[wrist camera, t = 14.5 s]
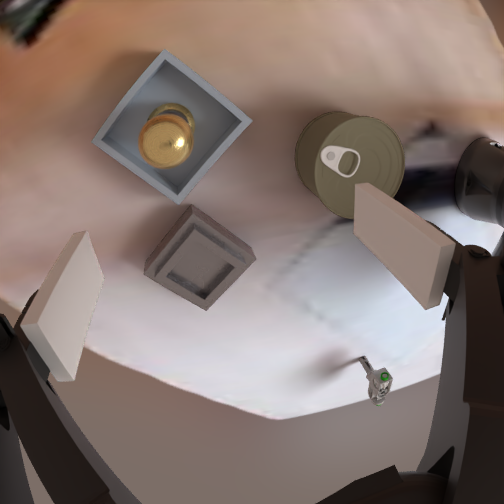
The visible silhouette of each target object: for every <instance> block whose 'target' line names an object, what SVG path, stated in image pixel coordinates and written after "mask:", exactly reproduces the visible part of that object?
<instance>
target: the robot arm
mask: <svg viewBox="0 0 504 504" xmlns="http://www.w3.org/2000/svg"><path fill="white" fill-rule="evenodd" d="M455 198H456V202H457V205H458V207H459V209H460V210H461V211H462V212H463V213H464V214H466V215H467V216H469V217H470V218H472V219H474V220H479V221H484V222H489V223H494V224H499V225H500V226H502V227H503V228H504V147H503V146H502V145H501V144H500V143H498V142H496V141H494V140H491V139H488V138H480V139H478V140H476V141H474V142H473V143H472V144H471V145H470V146H469V147H468V148H467V150H466V151H465V153H464V154H463V156H462V158H461V161H460V163H459V166H458V169H457V173H456V179H455ZM353 234H354V235H355V236H356V237H357V238H358V239H359V240H360V241H361V242H362V243H363V244H364V245H365V246H366V247H367V248H368V249H369V250H370V251H371V252H372V253H373V254H374V255H375V256H376V257H377V258H378V259H379V260H380V261H381V262H382V263H383V264H384V265H385V266H386V267H387V268H388V270H389V271H390V272H391V273H392V274H393V275H394V276H395V277H396V278H397V279H398V280H399V281H400V282H401V283H402V285H403V286H404V287H405V288H406V289H407V290H408V291H409V292H410V293H411V294H412V296H413V297H414V298H415V299H416V300H417V301H418V302H419V303H420V304H421V306H422V307H423V308H424V309H425V310H427V309H430V308H432V307H435V306H438V305H440V302H441V299H442V295H443V292H444V293H445V294H446V295H447V296H448V297H449V299H448V303H447V306H446V309H445V312H444V315H443V318H442V320H443V321H444V320H445V317H446V325H445V338H444V349H443V358H442V367H441V374H440V381H439V388H438V394H437V401H436V406H435V411H434V416H433V421H432V426H431V430H430V435H429V439H428V443H427V447H426V450H425V453H424V456H423V458H422V460H421V462H420V464H419V466H418V468H417V470H416V472H415V471H410V472H398V471H397V469H396V467H395V465H393V466H391V467H389V468H386V469H384V470H381V471H379V472H376V473H374V474H371V475H369V476H366V477H364V478H361V479H358V480H355V481H353V482H352V483H350V484H349V485H347V486H345V487H344V488H342V489H341V490H339V491H337V492H336V493H334V494H332V495H330V496H329V497H327V498H325V499H323V500H322V501H320V502H318V503H316V504H504V232H503V234H502V236H501V237H502V238H500V240H499V242H498V244H497V246H496V248H495V249H494V251H493V253H492V255H491V254H490V253H489V252H488V251H487V250H486V249H484V248H482V247H480V246H476V245H465V246H463V245H462V244H460V243H459V242H458V241H456V240H455V239H454V238H452V237H451V236H450V235H448V234H446V232H444V231H443V230H440V228H439V227H437V226H436V225H434V224H433V223H431V222H429V221H426V220H424V219H422V218H421V217H419V216H418V215H417V214H415V213H414V212H412V211H411V210H409V209H408V208H406V207H405V206H403V205H402V204H400V203H399V202H397V201H396V200H394V199H393V198H391V197H390V196H388V195H387V194H385V193H384V192H382V191H381V190H379V189H377V188H376V187H374V186H373V185H371V184H370V183H361V184H355V207H354V231H353ZM104 279H105V278H104V276H103V273H102V271H101V268H100V265H99V263H98V260H97V257H96V254H95V252H94V249H93V246H92V243H91V240H90V237H89V234H88V231H83V232H79V233H74V234H73V236H72V237H71V239H70V240H69V242H68V243H67V245H66V246H65V248H64V249H63V251H62V252H61V254H60V256H59V257H58V259H57V260H56V262H55V264H54V265H53V267H52V268H51V270H50V272H49V273H48V275H47V277H46V278H45V280H44V282H43V284H42V285H41V287H40V289H39V290H37V291H36V292H35V293H34V294H33V295H32V296H31V297H30V298H29V300H28V302H27V304H26V305H25V306H26V307H24V309H23V311H22V314H21V315H20V316H19V318H18V320H17V322H16V324H15V326H14V328H12V326H11V325H10V323H9V321H8V320H7V318H6V316H5V315H4V314H0V504H34V501H33V498H32V494H31V491H30V487H29V484H28V480H27V476H26V472H25V468H24V464H23V459H22V454H21V450H20V444H19V438H20V440H21V442H22V444H23V447H24V449H25V451H26V453H27V455H28V457H29V459H30V461H31V463H32V465H33V467H34V469H35V470H36V473H37V474H38V476H39V478H40V480H41V482H42V483H43V485H44V487H45V489H46V490H47V492H48V494H49V495H50V497H51V499H52V500H53V502H54V503H55V504H142V503H141V502H140V501H139V500H138V499H137V498H136V497H135V496H134V495H133V494H132V493H131V492H130V491H129V489H128V488H127V487H126V486H125V485H124V484H123V483H122V482H121V481H120V479H119V478H118V477H117V476H116V475H115V474H114V472H113V471H112V470H111V469H110V468H109V466H108V465H107V464H106V463H105V462H104V460H103V459H102V458H101V456H100V455H99V454H98V453H97V452H96V450H95V449H94V448H93V446H92V445H91V444H90V442H89V441H88V439H87V438H86V437H85V435H84V434H83V432H82V431H81V430H80V428H79V427H78V425H77V424H76V422H75V421H74V419H73V418H72V416H71V415H70V413H69V412H68V410H67V409H66V407H65V406H64V404H63V403H62V401H61V400H60V398H59V396H58V394H57V393H56V391H55V390H54V388H53V386H52V385H51V383H50V382H49V381H48V380H47V379H48V376H49V372H51V373H52V375H53V376H54V377H55V379H56V380H57V381H58V382H60V381H74V380H75V376H76V372H77V368H78V364H79V360H80V357H81V353H82V349H83V346H84V342H85V339H86V335H87V332H88V328H89V325H90V322H91V318H92V315H93V312H94V309H95V306H96V303H97V300H98V297H99V294H100V291H101V288H102V285H103V282H104ZM18 436H19V438H18Z"/></svg>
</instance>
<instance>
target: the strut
mask: <svg viewBox="0 0 504 504" xmlns="http://www.w3.org/2000/svg"><path fill="white" fill-rule="evenodd" d="M194 131H195V121H194V118H193V115H192V113H191V112H190V111H189V109H188V108H186V107H185V106H183V105H181V104H178V103H166V104H163V105H161V106H159V107H158V108H156V109H155V110H154V111H153V112H152V113H151V114H150V116H149V117H148V120H147V122H146V123H145V124H144V126H143V127H142V129H141V131H140V133H139V136H138V149H139V152H140V154H141V156H142V158H143V159H144V160H145V161H146V162H147V163H148V164H149V165H151V166H153V167H155V168H158V169H171V168H174V167H177V166H179V165H181V164H182V163H183V162H184V161H186V159H187V158H188V157H189V156H190V154H191V152H192V150H193V146H194Z"/></svg>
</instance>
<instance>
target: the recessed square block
mask: <svg viewBox="0 0 504 504" xmlns="http://www.w3.org/2000/svg"><path fill="white" fill-rule="evenodd" d="M255 260H256V257H255V255H254V253H253V250H252V248H251V247H250V246H248V245H247V244H246V243H244V242H243V241H241V240H240V239H239V238H237V237H236V236H235V235H233V234H232V233H231V232H229V231H228V230H226V229H225V228H224V227H222V226H221V225H220V224H218V223H217V222H216V221H214V220H213V219H211V218H210V217H209V216H207V215H206V214H205V213H203V212H202V211H201V210H199V209H198V208H196V207H195V206H194V205H191V206H190V207H189V208H188V209H187V211H186V212H185V213H184V214H183V215H182V217H181V218H180V219H179V220H178V221H177V223H176V224H175V225H174V226H173V228H172V229H171V230H170V231H169V233H168V234H167V235H166V236H165V238H164V239H163V240H162V241H161V243H160V244H159V245H158V246H157V248H156V249H155V250H154V251H153V253H152V254H151V255H150V257H149V258H148V259H147V260H146V262H145V268H144V275H146V276H147V277H149V278H151V279H152V280H154V281H156V282H157V283H159V284H161V285H162V286H164V287H166V288H167V289H169V290H171V291H172V292H174V293H176V294H178V295H179V296H181V297H183V298H185V299H186V300H188V301H190V302H191V303H193V304H195V305H197V306H199V307H200V308H202V309H204V310H206V311H207V310H208V309H209V307H210V306H211V305H212V304H213V303H214V302H215V301H216V300H217V299H218V298H219V297H220V296H221V295H222V294H223V293H224V292H225V291H226V290H227V289H228V288H229V287H230V286H231V285H232V284H233V283H234V282H235V281H236V280H237V279H238V277H239V276H240V275H241V274H242V273H243V272H244V271H245V270H246V269H247V268H248V267H249V266H250V265H251V264H252V263H253V262H254V261H255Z"/></svg>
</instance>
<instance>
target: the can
mask: <svg viewBox="0 0 504 504" xmlns="http://www.w3.org/2000/svg"><path fill="white" fill-rule="evenodd" d="M295 165H296V170H297V173H298V175H299V177H300V179H301V181H302V182H303V184H304V185H305V186H306V187H307V188H308V189H309V190H310V191H312V192H313V193H314V194H315V195H316V196H317V197H318V198H319V199H320V200H321V202H322V203H323V204H324V205H325V206H326V207H327V208H328V209H329V210H330V211H331V212H333V213H334V214H336V215H338V216H341V217H344V218H349V219H354V207H355V184H361V183H370V184H371V185H373V186H374V187H376V188H377V189H379V190H381V191H382V192H384V193H385V194H387V195H388V196H390V197H391V198H393V197H394V196H395V194H396V193H397V191H398V189H399V187H400V185H401V182H402V179H403V175H404V169H405V156H404V150H403V146H402V144H401V141H400V139H399V137H398V136H397V134H396V133H395V131H394V130H393V129H392V128H391V127H390V126H389V125H387V124H386V123H384V122H383V121H381V120H379V119H376V118H373V117H367V116H358V115H353V114H349V113H345V112H330V113H326V114H323V115H321V116H319V117H317V118H315V119H314V120H313V121H311V122H310V123H309V124H308V125H307V126H306V128H305V129H304V130H303V132H302V133H301V135H300V137H299V139H298V142H297V145H296V150H295Z"/></svg>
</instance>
